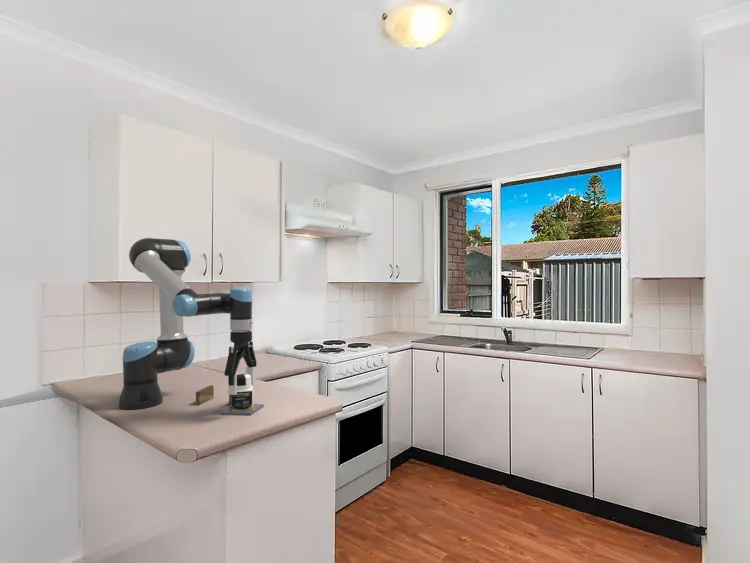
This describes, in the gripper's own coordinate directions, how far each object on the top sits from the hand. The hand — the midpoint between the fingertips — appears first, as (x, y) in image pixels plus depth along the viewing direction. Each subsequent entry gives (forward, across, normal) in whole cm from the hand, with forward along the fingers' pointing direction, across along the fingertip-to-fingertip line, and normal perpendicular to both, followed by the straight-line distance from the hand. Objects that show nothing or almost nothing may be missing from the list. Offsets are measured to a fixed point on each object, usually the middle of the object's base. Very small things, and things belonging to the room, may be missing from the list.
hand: (241, 389), depth 159 cm
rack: (+8, +10, +13) cm, 18 cm away
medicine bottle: (+7, 0, -1) cm, 7 cm away
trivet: (+7, 0, -1) cm, 8 cm away
